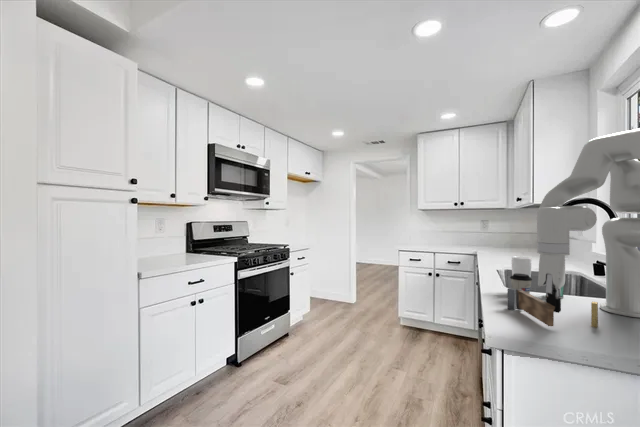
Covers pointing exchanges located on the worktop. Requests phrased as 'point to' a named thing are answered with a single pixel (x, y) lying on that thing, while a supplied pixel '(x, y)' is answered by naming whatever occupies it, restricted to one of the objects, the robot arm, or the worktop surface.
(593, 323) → the post
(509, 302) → the hinge post
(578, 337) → the worktop surface
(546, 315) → the gate leaf
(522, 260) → the white cylinder
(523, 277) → the coffee cup
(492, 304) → the worktop surface
